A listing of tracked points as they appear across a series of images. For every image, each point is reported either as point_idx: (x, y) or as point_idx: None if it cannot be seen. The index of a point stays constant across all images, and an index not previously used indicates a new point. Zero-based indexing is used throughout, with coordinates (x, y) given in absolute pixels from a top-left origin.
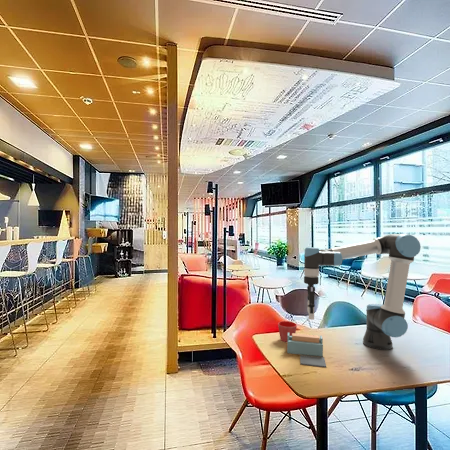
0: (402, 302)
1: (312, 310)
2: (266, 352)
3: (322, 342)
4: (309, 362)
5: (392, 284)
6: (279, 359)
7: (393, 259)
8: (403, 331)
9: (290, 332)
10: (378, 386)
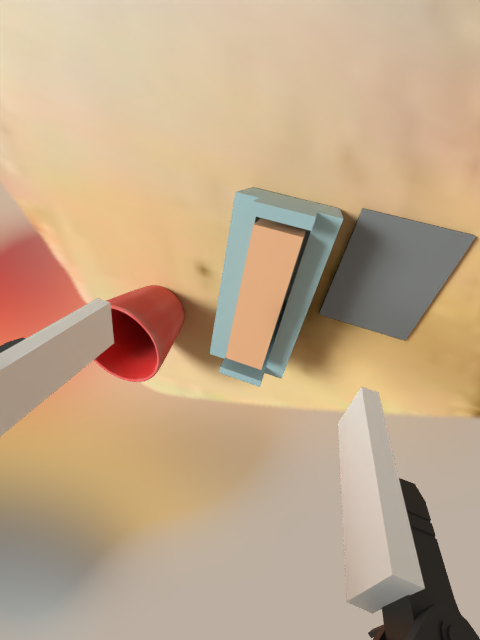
0: None
1: (431, 545)
2: (280, 404)
3: (317, 213)
4: (407, 303)
5: None
6: (342, 388)
7: None
8: None
9: (168, 330)
10: None
